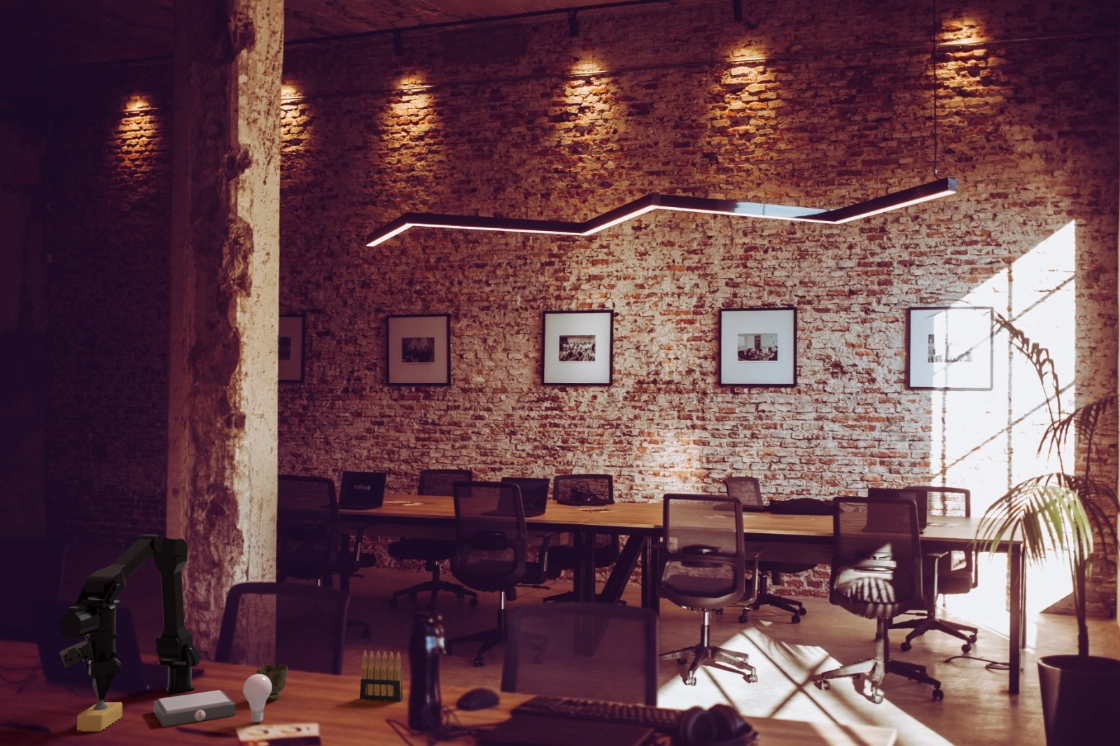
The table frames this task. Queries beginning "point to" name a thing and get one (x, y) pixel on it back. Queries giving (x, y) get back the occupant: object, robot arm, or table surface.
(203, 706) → the dial scale
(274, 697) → the cup
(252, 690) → the lightbulb
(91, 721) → the rubber stamp
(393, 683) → the ammunition clip
